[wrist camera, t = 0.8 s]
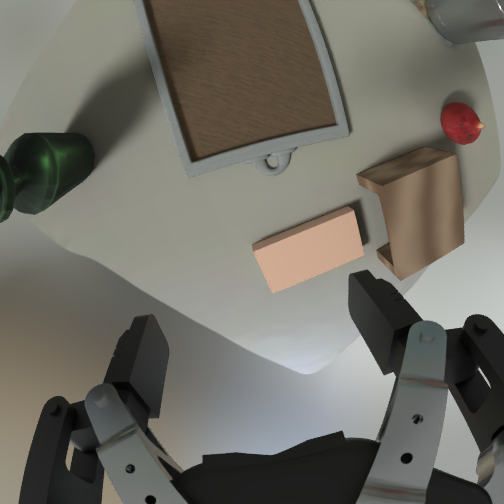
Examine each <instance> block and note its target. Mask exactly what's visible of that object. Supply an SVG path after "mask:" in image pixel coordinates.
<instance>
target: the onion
mask: <svg viewBox="0 0 504 504" xmlns="http://www.w3.org/2000/svg"><path fill="white" fill-rule="evenodd" d="M441 125H442V128H443V131H444V133H445V134H446V135H447V136H448V138H449V139H450V140H452V141H454V142H456V143H458V144H462V145H465V144H469V143H472V142H474V141H475V140H476V139H477V138H478V137H479V135H480V132H481V129H483V128H484V126H485V125H484V124H483V123H482V122H480V120H479V118H478V116H477V114H476V113H475V112H474V110H473V109H472V108H470V107H469V106H467V105H466V104H464V103H459V102H453V103H450V104H449V105H447V106H446V107H445V108H444V110H443V111H442V114H441Z"/></svg>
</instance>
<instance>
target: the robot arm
mask: <svg viewBox="0 0 504 504" xmlns="http://www.w3.org/2000/svg"><path fill="white" fill-rule="evenodd" d="M425 4H426V10H427V13H428V15H429V17H430V19H431V21H432V23H433V24H434V26H435V27H436V28H437V30H438V31H439V32H440V33H441V34H442V35H443V36H444V37H445V38H446V39H448V40H449V41H451V42H453V43H456V44H462V43H469V42H478V41H486V40H498V39H504V0H426V2H425ZM348 307H349V312H350V315H351V318H352V320H353V321H354V323H355V325H356V327H357V328H358V330H359V332H360V333H361V335H362V337H363V338H364V340H365V342H366V344H367V346H368V347H369V349H370V351H371V353H372V355H373V356H374V358H375V360H376V362H377V364H378V365H379V367H380V369H381V371H382V373H383V374H384V375H386V374H389V373H392V372H394V374H395V376H396V379H395V382H394V386H393V390H392V393H391V397H390V401H389V404H388V407H387V410H386V413H385V417H384V420H383V422H382V425H381V428H380V430H379V433H378V435H377V438H376V440H375V441H374V440H370V439H364V438H345V437H344V434H343V431H339V432H336V433H332V434H329V435H325V436H321V437H317V438H314V439H310V440H307V441H305V442H303V443H300V444H298V445H296V446H294V447H292V448H289V449H287V450H285V451H282V452H280V453H278V454H275V455H259V454H246V453H237V452H235V453H226V454H211V455H203V463H201V464H198V465H196V466H193V467H191V468H189V469H187V470H185V471H184V470H183V469H182V468H181V467H180V466H179V465H178V464H177V463H176V462H175V461H174V460H173V458H172V457H171V456H170V455H169V453H168V452H167V451H166V449H165V448H164V447H163V445H162V444H161V443H160V441H159V440H158V438H157V437H156V436H155V434H154V433H153V431H152V430H151V428H150V427H149V426H148V419H149V418H159V414H160V408H161V401H162V394H163V388H164V381H165V376H166V370H167V364H168V359H169V346H168V343H167V340H166V338H165V336H164V334H163V332H162V330H161V329H160V326H159V324H158V322H157V320H156V318H155V316H154V315H153V314H149V315H143V316H136V317H135V318H134V320H133V322H132V325H131V327H130V329H129V330H126V331H125V332H124V334H123V335H122V336H121V337H120V338H119V341H118V343H117V346H116V350H115V351H114V354H113V357H112V359H111V362H110V364H109V367H108V370H107V373H106V376H105V378H104V381H103V384H99V385H97V386H95V387H93V388H92V389H91V390H90V391H89V392H88V393H87V395H86V397H85V400H83V401H80V402H76V403H72V404H70V403H69V402H68V401H67V400H66V399H65V398H64V397H62V396H56V397H53V398H51V399H50V400H48V401H47V402H46V404H45V405H44V407H43V409H42V412H41V415H40V418H39V421H38V424H37V428H36V431H35V434H34V437H33V440H32V444H31V447H30V451H29V455H28V459H27V463H26V467H25V471H24V476H23V481H22V486H21V491H20V497H19V504H101V501H102V489H103V479H104V470H105V471H106V473H107V475H108V477H109V479H110V481H111V482H112V484H113V486H114V488H115V490H116V492H117V494H118V495H119V497H120V499H121V500H122V502H123V503H124V504H504V334H503V333H502V332H501V330H500V329H499V328H498V327H497V326H496V325H495V323H494V322H493V321H492V320H491V319H489V318H488V317H486V316H484V315H479V314H475V315H471V316H469V317H468V318H467V319H466V321H465V323H464V326H463V328H455V329H448V330H444V328H443V327H442V326H441V325H439V324H438V323H436V322H433V321H423V319H422V318H421V317H420V316H419V315H418V313H417V312H416V311H415V310H414V309H413V308H412V307H411V305H410V304H409V303H408V302H407V301H406V300H405V299H404V297H403V296H402V295H401V294H400V293H398V290H397V289H396V288H395V287H394V286H393V285H392V284H391V283H389V282H387V281H385V280H383V279H381V278H380V279H376V278H375V277H374V276H373V275H372V274H371V272H370V271H369V270H363V271H359V272H355V273H351V274H350V275H349V295H348ZM479 367H480V369H481V370H482V372H483V373H484V375H485V376H486V378H487V379H488V381H489V383H490V386H491V389H490V387H489V386H488V384H487V382H486V381H485V379H484V378H483V376H482V374H481V373H480V371H479V370H478V368H479ZM448 389H449V390H450V392H451V394H452V396H453V397H454V399H455V401H456V403H457V405H458V407H459V409H460V411H461V412H462V414H463V416H464V418H465V420H466V422H467V424H468V426H469V428H470V430H471V433H472V435H473V437H474V438H475V441H476V443H477V445H478V447H479V450H480V452H481V453H480V455H479V457H478V461H477V468H476V473H477V475H479V477H478V482H477V484H476V483H473V482H470V481H467V480H464V479H462V478H459V477H456V476H453V475H451V474H448V473H446V472H443V471H441V470H438V469H436V468H434V467H433V466H434V463H435V459H436V455H437V451H438V446H439V442H440V437H441V433H442V428H443V421H444V416H445V410H446V403H447V395H448ZM69 442H70V443H71V444H72V445H74V446H75V447H74V452H73V457H72V462H71V467H70V471H68V469H67V467H66V463H65V460H66V455H67V450H68V446H69Z"/></svg>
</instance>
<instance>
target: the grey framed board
mask: <svg viewBox="0 0 504 504" xmlns="http://www.w3.org/2000/svg"><path fill="white" fill-rule="evenodd" d="M133 1H134V5H135V9H136V13H137V17H138V21H139V24H140V28H141V32H142V36H143V39H144V43H145V47H146V50H147V54H148V57H149V61H150V64H151V68H152V71H153V75H154V78H155V82H156V85H157V88H158V92H159V95H160V98H161V101H162V105H163V108H164V111H165V114H166V117H167V121H168V124H169V127H170V130H171V133H172V136H173V139H174V142H175V145H176V148H177V151H178V154H179V157H180V160H181V163H182V166H183V169H184V172H185V175H186V177H187V178H191V177H194V176H197V175H200V174H203V173H206V172H209V171H212V170H216V169H219V168H222V167H225V166H229V165H232V164H235V163H239V162H242V161H243V163H245V164H249V163H252V164H253V166H254V167H255V168H256V169H257V170H258V171H259V172H261V173H263V174H265V175H269V176H274V175H278V174H280V173H281V172H283V171H284V170H285V169H286V167H287V166H288V164H289V161H290V153H291V152H294V151H295V150H296V147H300V146H304V145H309V144H313V143H318V142H322V141H327V140H332V139H337V138H343V137H347V136H349V135H350V134H349V129H348V124H347V120H346V115H345V111H344V107H343V103H342V99H341V95H340V91H339V88H338V84H337V81H336V77H335V74H334V70H333V67H332V64H331V60H330V57H329V54H328V51H327V48H326V45H325V42H324V39H323V36H322V33H321V31H320V28H319V25H318V23H317V20H316V17H315V15H314V12H313V10H312V7H311V5H310V2H309V0H133ZM269 154H270V155H271V156H277V157H278V163H279V164H278V166H277V167H276V168H273V169H271V168H269V167H268V166H267V164H266V161H265V159H266V158H268V157H269Z"/></svg>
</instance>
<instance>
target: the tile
mask: <svg viewBox="0 0 504 504" xmlns="http://www.w3.org/2000/svg"><path fill="white" fill-rule="evenodd" d="M252 248H253V252H254V254H255V256H256V259H257V261H258V263H259V265H260V267H261V270H262V272H263V274H264V276H265V278H266V281H267V283H268V285H269V287H270V289H271V291H272V294H273V293H275V292H278V291H280V290H283V289H285V288H288V287H290V286H293V285H295V284H298V283H300V282H303V281H305V280H307V279H310V278H312V277H315V276H317V275H319V274H322V273H324V272H326V271H329V270H331V269H334V268H336V267H338V266H340V265H343V264H345V263H347V262H350V261H352V260H354V259H357V258H359V257H361V256H363V255H364V252H363V247H362V242H361V238H360V233H359V229H358V225H357V221H356V217H355V213H354V210H353V209H351V208H350V207H348V206H346V207H344V208H341V209H339V210H336V211H334V212H331V213H329V214H326V215H324V216H321V217H319V218H317V219H314V220H312V221H309V222H307V223H304V224H302V225H299V226H297V227H294V228H292V229H289V230H287V231H284V232H282V233H280V234H277V235H275V236H272V237H270V238H267V239H265V240H262V241H260V242H258V243H255V244H253V245H252Z"/></svg>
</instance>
